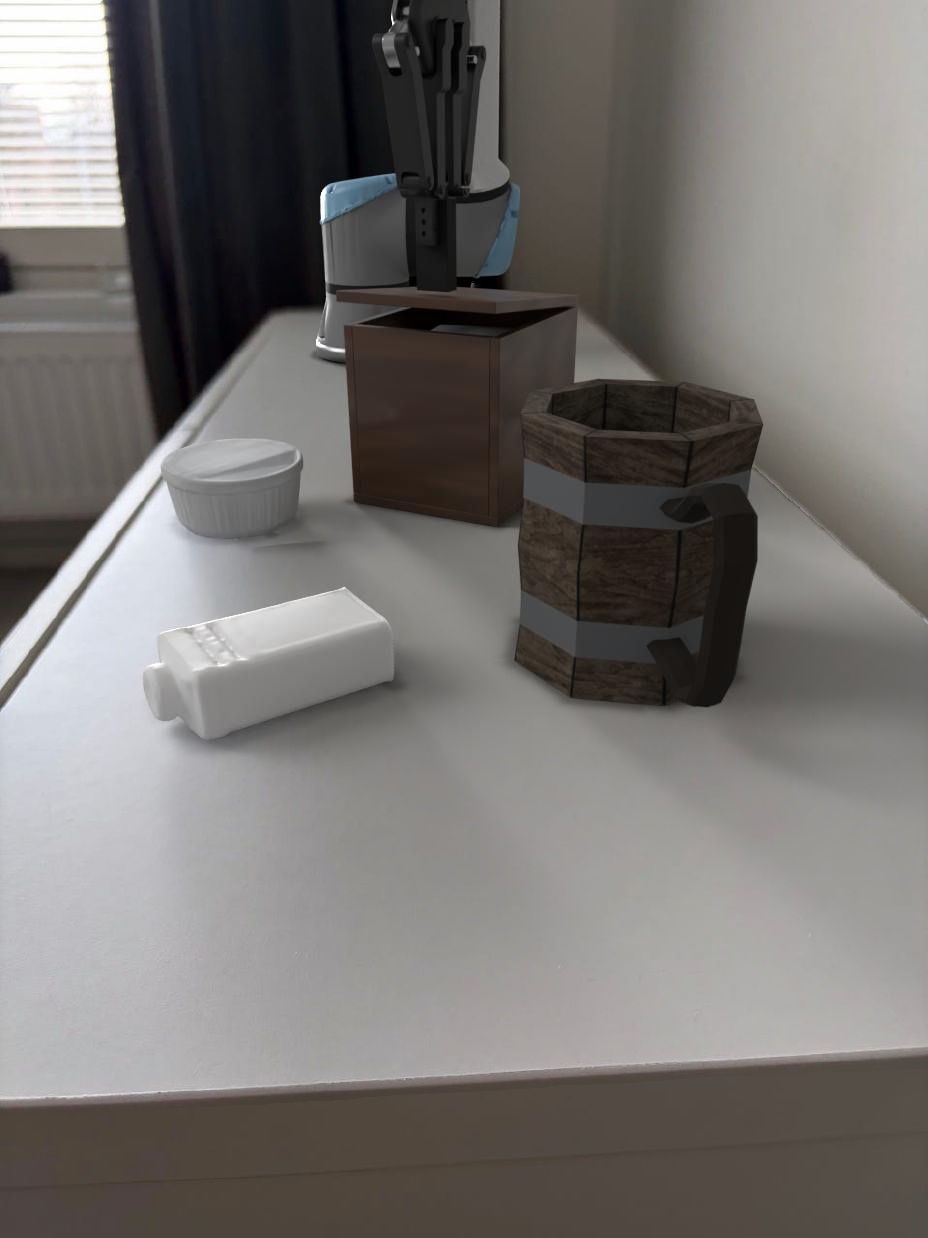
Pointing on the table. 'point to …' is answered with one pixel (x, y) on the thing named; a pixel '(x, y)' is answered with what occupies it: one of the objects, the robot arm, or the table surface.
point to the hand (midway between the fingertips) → (436, 289)
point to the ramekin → (234, 486)
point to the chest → (449, 406)
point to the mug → (636, 539)
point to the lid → (458, 299)
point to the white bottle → (268, 662)
